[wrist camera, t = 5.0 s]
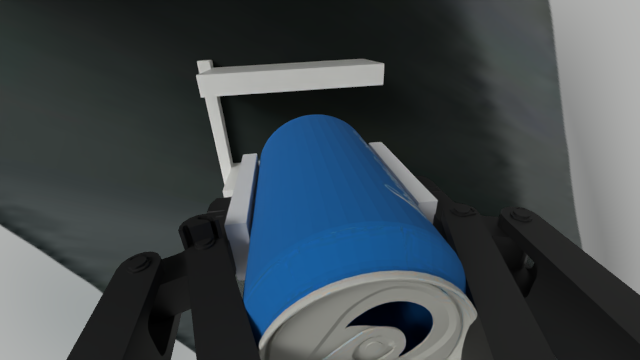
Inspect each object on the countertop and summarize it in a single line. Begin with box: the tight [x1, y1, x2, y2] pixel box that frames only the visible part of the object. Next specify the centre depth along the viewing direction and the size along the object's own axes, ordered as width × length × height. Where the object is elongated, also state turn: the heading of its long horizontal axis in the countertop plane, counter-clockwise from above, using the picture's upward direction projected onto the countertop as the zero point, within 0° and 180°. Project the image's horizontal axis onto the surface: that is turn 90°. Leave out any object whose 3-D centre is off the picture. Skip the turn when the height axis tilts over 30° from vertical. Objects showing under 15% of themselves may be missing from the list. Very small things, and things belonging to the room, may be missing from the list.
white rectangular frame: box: [196, 59, 384, 198], centre depth 29 cm, size 28×14×6 cm, turn 3°
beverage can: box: [243, 115, 477, 360], centre depth 12 cm, size 6×6×12 cm
